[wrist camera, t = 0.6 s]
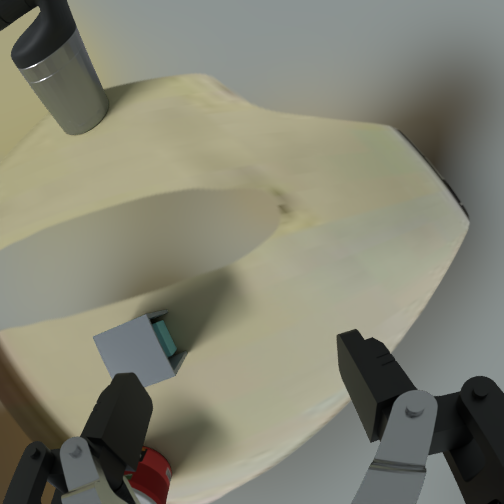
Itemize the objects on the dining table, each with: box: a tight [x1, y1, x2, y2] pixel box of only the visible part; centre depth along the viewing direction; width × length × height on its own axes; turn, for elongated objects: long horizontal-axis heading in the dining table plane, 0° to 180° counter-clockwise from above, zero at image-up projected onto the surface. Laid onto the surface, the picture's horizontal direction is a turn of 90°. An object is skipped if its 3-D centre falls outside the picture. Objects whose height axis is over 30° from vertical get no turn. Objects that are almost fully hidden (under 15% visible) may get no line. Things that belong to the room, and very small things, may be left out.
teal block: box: [152, 320, 177, 358], centre depth 29 cm, size 4×4×4 cm
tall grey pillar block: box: [93, 310, 187, 387], centre depth 26 cm, size 6×6×10 cm
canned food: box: [124, 446, 172, 504], centre depth 22 cm, size 8×8×11 cm
